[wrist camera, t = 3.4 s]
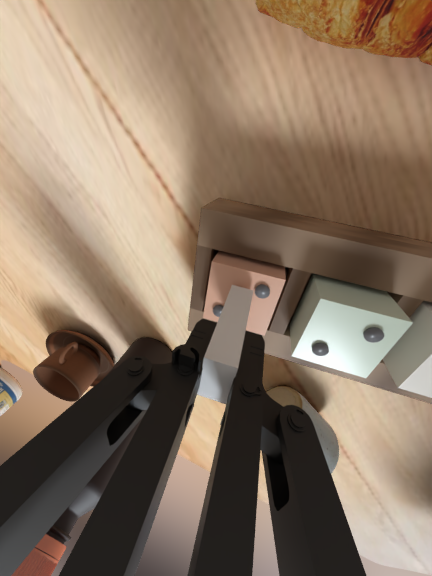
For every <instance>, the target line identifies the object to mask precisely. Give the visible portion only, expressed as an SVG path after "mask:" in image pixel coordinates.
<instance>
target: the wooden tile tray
mask: <svg viewBox="0 0 432 576" xmlns="http://www.w3.org/2000/svg"><path fill="white" fill-rule="evenodd" d="M219 250H220V251H224V252H228V253H232V254H236V255H240V256H244V257H248V258H253V259H257V260H261V261H265V262H269V263H273V264H277V265H281V266H285V276H286V281H285V284H284V286H283V289H282V291H281V294H280V297H279V299H278V302H277V305H276V307H275V310H274V313H273V315H272V318H271V320H270V323H269V326H268V328H267V331H266V334H265V336H263V335H262V337H263V339H264V341H265V350H264V353H265V354H268V355H272V356H275V357H278V358H282V359H285V360H288V361H291V362H295V363H298V364H301V365H305V366H308V367H311V368H315V369H318V370H321V371H324V372H328V373H331V374H334V375H338V376H341V377H344V378H348V379H351V380H354V381H358V382H361V383H364V384H367V385H371V386H374V387H377V388H381V389H384V390H387V391H391V392H394V393H397V394H401V395H404V396H407V397H410V398H414V399H417V400H420V401H424V402H427V403H430V404H432V398H430V397H427V396H423V395H420V394H417V393H413V392H410V391H407V390H403V389H400V388H398V387H397V386H396V384H395V382H394V380H393V378H392V376H391V374H390V372H389V371H388V369H387V367H386V365H385V363H384V361H383V359H382V360H381V361H380V362H379V364H378V365H377V366H376V367H375V368H374V370H373V371H372V372H371V373H370V374H369V375H368V377H367V378H363V377H360V376H356V375H353V374H350V373H346V372H343V371H340V370H336V369H333V368H330V367H326V366H323V365H320V364H316V363H313V362H310V361H306V360H303V359H300V358H296V357H293V356H292V354H291V339H290V323H291V321H292V318H293V316H294V314H295V312H296V309H297V307H298V305H299V303H300V300H301V298H302V296H303V294H304V291H305V289H306V287H307V285H308V283H309V280H310V278H311V276H312V274H313V273H314V274H318V275H322V276H326V277H330V278H334V279H338V280H342V281H346V282H351V283H355V284H359V285H363V286H367V287H371V288H375V289H379V290H383V291H387V292H388V294H389V295H390V296H391V297H392V298H393V299H394V301H395V302H396V303H397V304H398V305H399V306H400V308H401V309H402V310H403V311H404V312H405V314H406V315H407V316H408V317H409V318H410V317H411V315H412V314H413V313H414V312H415V310H416V309H417V308H418V307H419V306H420V304H421V303H422V302H423V301H428V302H432V243H430V242H425V241H420V240H416V239H411V238H406V237H401V236H397V235H392V234H387V233H383V232H378V231H373V230H368V229H364V228H359V227H354V226H349V225H345V224H340V223H335V222H330V221H326V220H321V219H316V218H311V217H307V216H302V215H297V214H293V213H288V212H283V211H278V210H274V209H269V208H264V207H259V206H255V205H250V204H245V203H240V202H236V201H231V200H226V199H222V198H218V199H216V200H215V201H213V202H211V203H209V204H207V205H206V206H204V207H202V208H201V216H200V225H199V234H198V243H197V252H196V260H195V269H194V278H193V287H192V296H191V304H190V313H189V322H188V330H189V331H192V330H193V329H194V327H195V325H196V323H197V322H198V321H200V320H201V319H205V318H203V314H204V307H205V301H206V295H207V288H208V282H209V276H210V269H211V263H212V260H213V259H214V257H215V256H216V255H217V253H218V252H219ZM206 320H208V319H206ZM210 321H212V320H210ZM213 322H215V321H213ZM216 323H217V322H216ZM249 332H250V331H249Z"/></svg>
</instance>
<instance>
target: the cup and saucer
mask: <svg viewBox="0 0 432 576" xmlns="http://www.w3.org/2000/svg"><path fill="white" fill-rule="evenodd" d="M46 348H47V351H48V353H49V355H50V356H49V357H48V358H46V359H45V360H44V361H43V362H41V363H40V364H39V365H38V366H37V367H35V368H34V370H33V374H34V377H35V378H36V380H37V381H38V383H39V384H40V385H41V386H42V387H43V388H44V389H46V390H47V391H48V392H49V393H51V394H53V395H54V396H56V397H58V398H60V399H63V400H66V401H77V400H78V399H79V398H80V397H81V396H82V395H83V393H84V392H85V391H86V390H87V389H88V387H89V386H95V385H96V384H98V383H99V382H100V381H101V380H102V379H104V378H105V376H106V375H107V374H108V373H109V372H110V370H111V369H112V368H113V367H114V363H113V361H112V359H111V357H110V355H109V354H108V353H107V351H106V350H105V349H104V348H103V347H102V346H101V345H100V344H98V343H97V342H96V341H94V340H93V339H91V338H90V337H88V336H86V335H84V334H81V333H78V332H75V331H68V330H60V331H56V332H54V333H51V334H50V335H49V336H48V337H47V339H46Z"/></svg>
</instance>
